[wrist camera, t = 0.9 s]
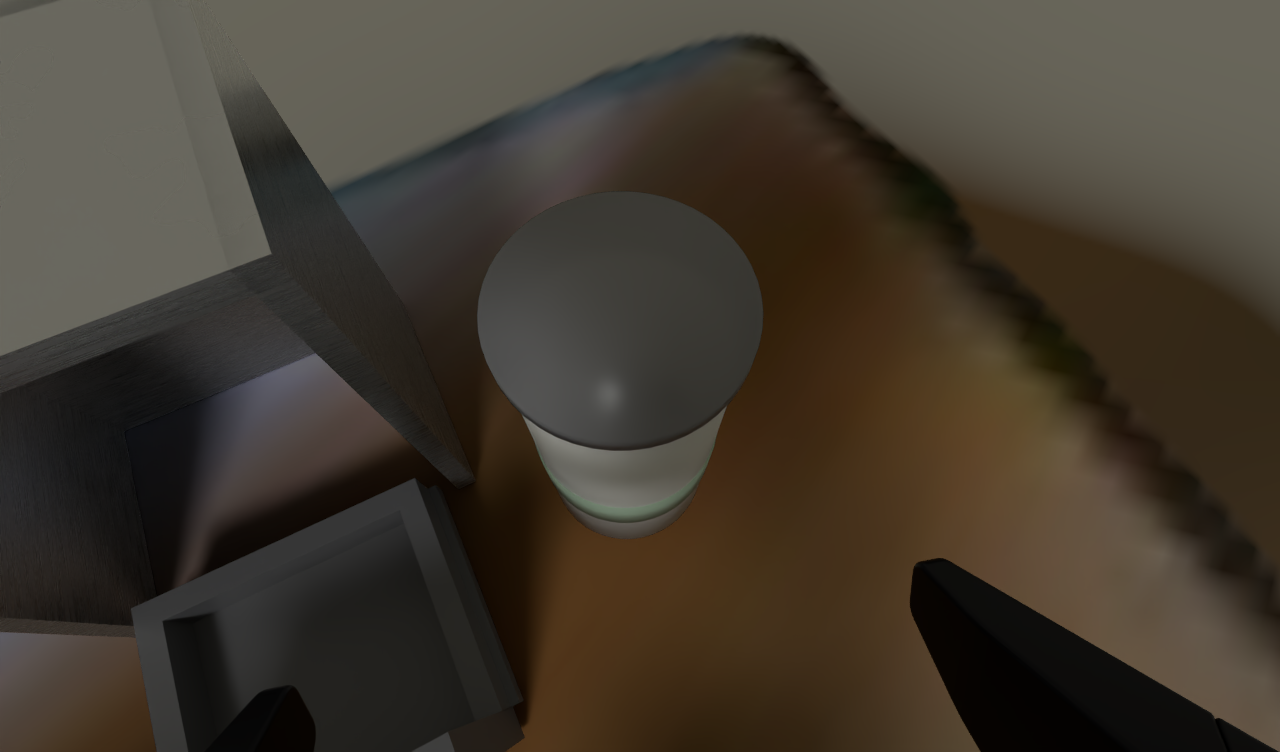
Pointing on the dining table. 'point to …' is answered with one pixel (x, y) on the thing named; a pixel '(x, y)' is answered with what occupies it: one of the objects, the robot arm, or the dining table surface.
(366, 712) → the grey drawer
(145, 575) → the caddy
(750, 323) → the cup
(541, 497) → the dining table surface
